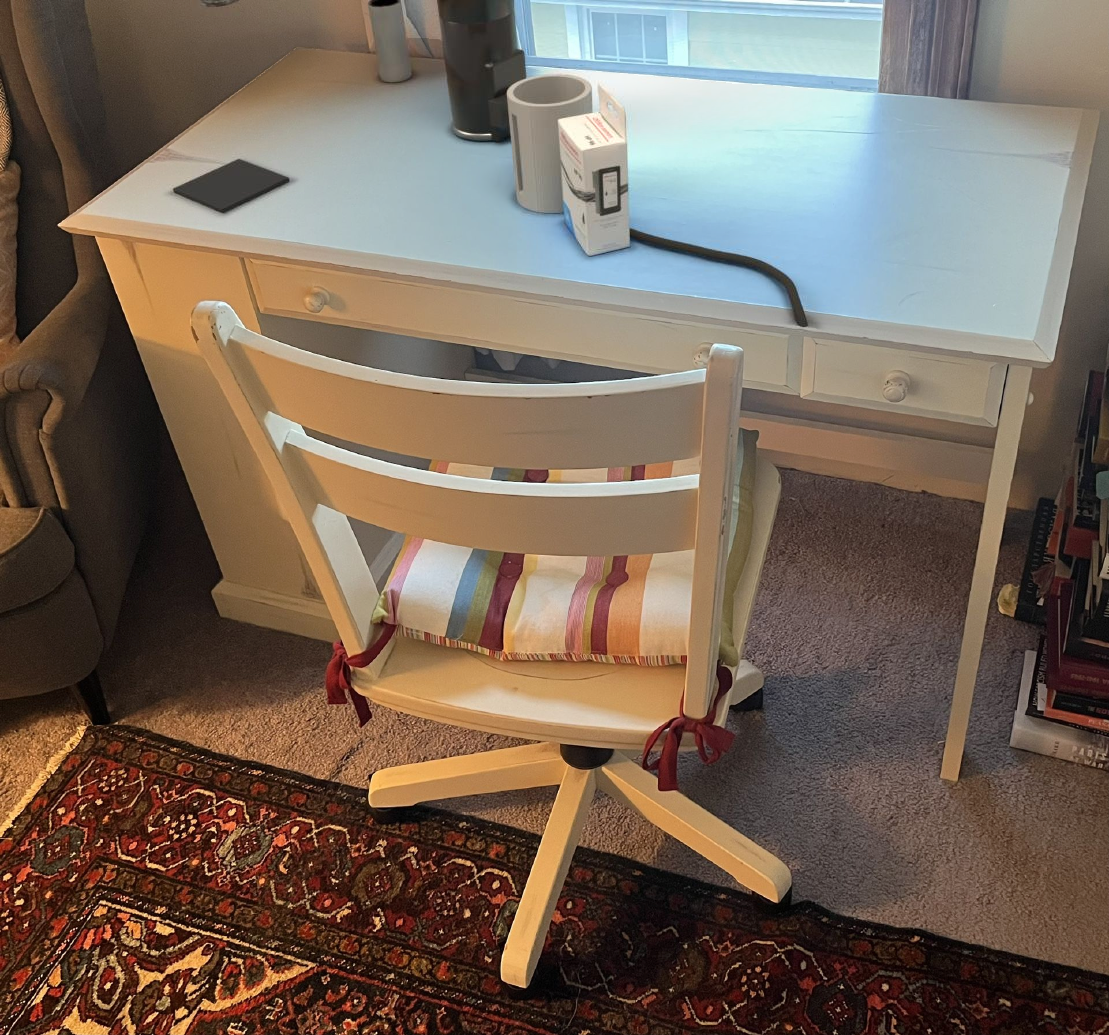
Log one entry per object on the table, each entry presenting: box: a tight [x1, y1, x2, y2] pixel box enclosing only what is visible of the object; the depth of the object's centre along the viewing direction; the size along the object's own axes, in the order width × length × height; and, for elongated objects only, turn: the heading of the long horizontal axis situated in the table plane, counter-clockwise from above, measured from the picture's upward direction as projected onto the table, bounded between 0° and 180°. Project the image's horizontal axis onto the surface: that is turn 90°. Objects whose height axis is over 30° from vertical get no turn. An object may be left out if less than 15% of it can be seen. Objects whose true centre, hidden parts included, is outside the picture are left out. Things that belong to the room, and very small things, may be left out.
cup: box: [507, 73, 594, 214], centre depth 121 cm, size 9×9×12 cm
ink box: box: [558, 82, 631, 257], centre depth 112 cm, size 8×5×15 cm, turn 18°
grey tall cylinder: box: [367, 0, 413, 83], centre depth 153 cm, size 4×4×10 cm
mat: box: [172, 158, 290, 214], centre depth 132 cm, size 10×10×1 cm
